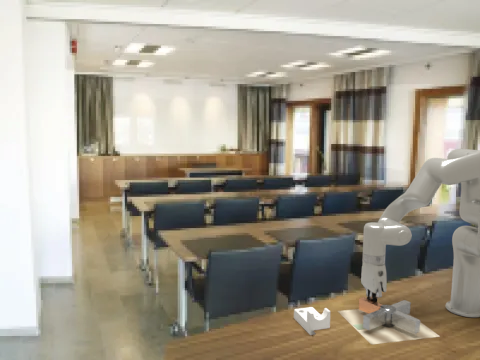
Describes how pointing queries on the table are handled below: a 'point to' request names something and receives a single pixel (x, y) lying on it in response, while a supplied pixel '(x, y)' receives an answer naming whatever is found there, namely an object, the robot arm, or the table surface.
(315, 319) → the bracket
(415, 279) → the table surface
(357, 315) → the base plate
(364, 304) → the capstan
